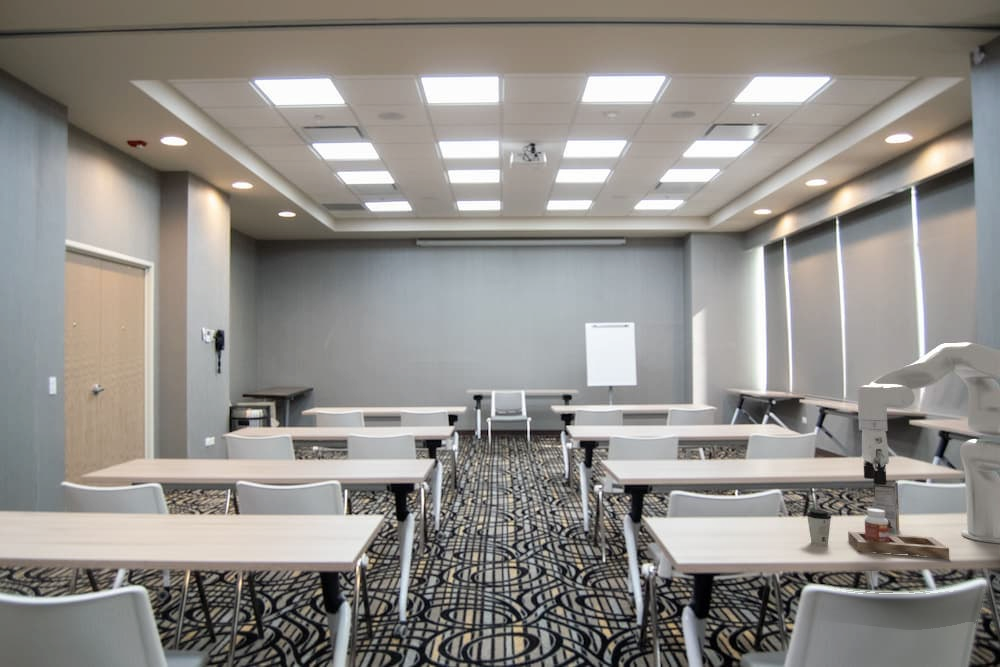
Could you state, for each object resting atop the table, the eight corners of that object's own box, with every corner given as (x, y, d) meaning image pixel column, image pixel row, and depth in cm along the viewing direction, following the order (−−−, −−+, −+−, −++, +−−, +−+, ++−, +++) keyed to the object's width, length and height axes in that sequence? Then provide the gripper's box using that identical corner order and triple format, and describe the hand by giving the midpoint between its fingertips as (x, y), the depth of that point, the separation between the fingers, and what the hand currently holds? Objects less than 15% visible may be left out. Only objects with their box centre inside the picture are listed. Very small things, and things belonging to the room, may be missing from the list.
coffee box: (877, 527, 208) (876, 480, 209) (899, 530, 204) (898, 482, 205) (874, 533, 200) (873, 484, 201) (897, 536, 197) (895, 486, 197)
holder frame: (932, 547, 185) (932, 537, 185) (949, 559, 173) (949, 548, 173) (848, 540, 191) (848, 531, 191) (859, 552, 180) (859, 541, 180)
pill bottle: (882, 551, 180) (881, 513, 180) (861, 545, 185) (860, 509, 185) (893, 547, 183) (892, 510, 183) (872, 542, 188) (870, 506, 189)
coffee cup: (831, 548, 183) (830, 515, 184) (806, 544, 187) (805, 512, 188) (832, 542, 189) (831, 510, 190) (808, 539, 193) (807, 507, 194)
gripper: (896, 428, 176) (898, 487, 175) (877, 423, 193) (879, 477, 192) (867, 428, 179) (869, 486, 178) (851, 422, 195) (853, 476, 194)
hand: (874, 481), depth 185 cm, fingers open, 9 cm apart
